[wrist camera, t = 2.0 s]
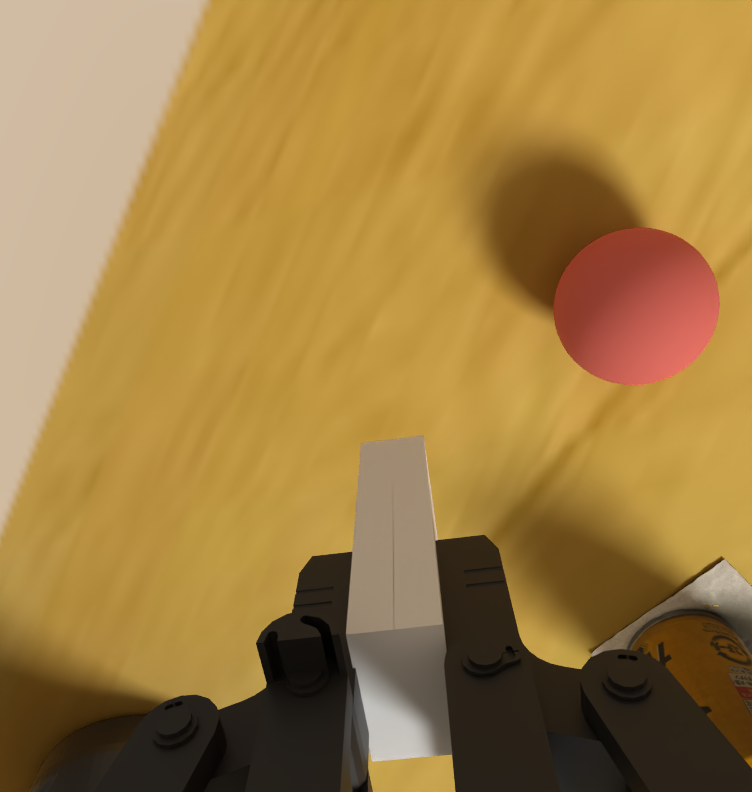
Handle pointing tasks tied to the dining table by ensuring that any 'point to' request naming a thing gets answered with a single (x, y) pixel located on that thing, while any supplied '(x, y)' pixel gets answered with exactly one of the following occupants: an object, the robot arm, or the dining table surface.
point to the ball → (636, 306)
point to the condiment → (704, 648)
